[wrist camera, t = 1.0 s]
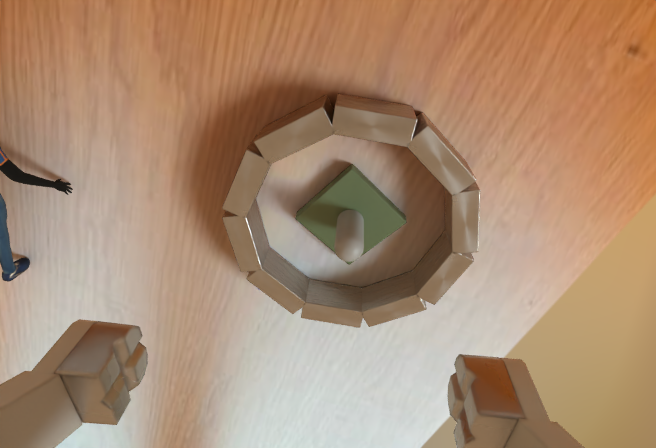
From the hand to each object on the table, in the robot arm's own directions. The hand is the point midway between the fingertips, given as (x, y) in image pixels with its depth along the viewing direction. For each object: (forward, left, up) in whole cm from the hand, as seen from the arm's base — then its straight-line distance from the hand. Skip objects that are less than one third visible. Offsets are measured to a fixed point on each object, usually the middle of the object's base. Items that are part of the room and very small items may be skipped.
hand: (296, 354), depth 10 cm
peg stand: (+4, +6, -20) cm, 21 cm away
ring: (+4, +6, -20) cm, 21 cm away
